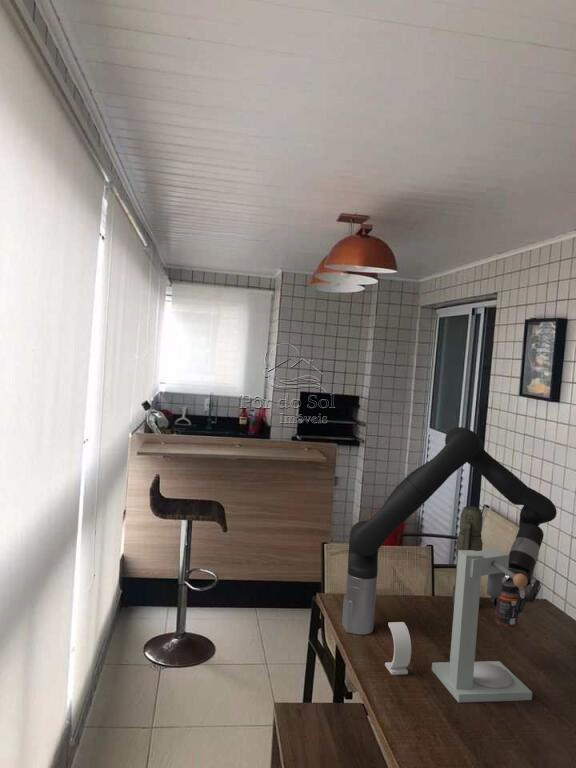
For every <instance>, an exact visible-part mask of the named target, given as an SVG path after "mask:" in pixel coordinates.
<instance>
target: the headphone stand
mask: <svg viewBox="0 0 576 768" xmlns="http://www.w3.org/2000/svg"><path fill="white" fill-rule="evenodd" d="M387 623H388V624H387V625H388V627H389V629H390V632H391V636H392V639H393V641H392V642H393V658H392V661H391V662H390V661H389V662H387V661H386V662H385V663H384V666H385V667H386V669H387V670H388V671H389V673H390V674H391V675H393V676H395V675H399V676H400V675H408V674H409V670H408V669H407V667H408V666H409V664H410V662H411V658H412V657H411V656H412V641H411V635H410V631H409V629H408V627H407V625H406V623H405V622H404V621H398V622H397V621H395V622H393V621H391V622H390V621H389V622H387Z"/></svg>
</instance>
